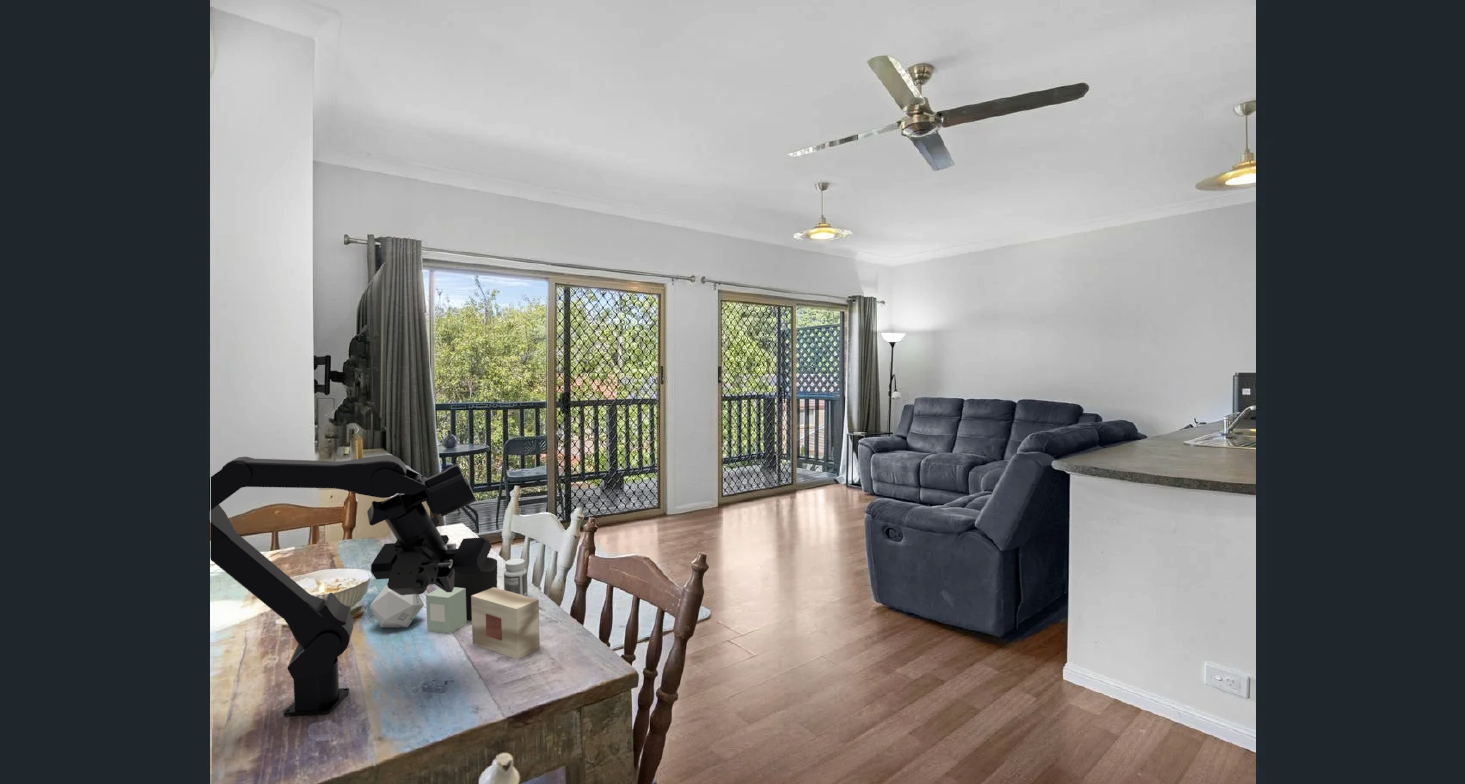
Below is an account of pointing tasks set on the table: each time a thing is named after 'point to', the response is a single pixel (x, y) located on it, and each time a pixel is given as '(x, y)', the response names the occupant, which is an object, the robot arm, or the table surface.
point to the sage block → (446, 610)
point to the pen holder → (477, 582)
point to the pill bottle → (515, 577)
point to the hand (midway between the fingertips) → (450, 590)
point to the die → (395, 608)
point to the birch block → (505, 622)
